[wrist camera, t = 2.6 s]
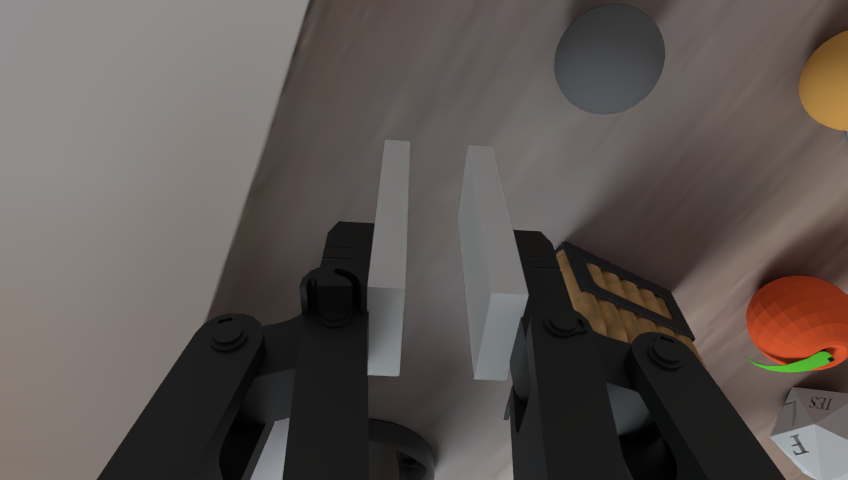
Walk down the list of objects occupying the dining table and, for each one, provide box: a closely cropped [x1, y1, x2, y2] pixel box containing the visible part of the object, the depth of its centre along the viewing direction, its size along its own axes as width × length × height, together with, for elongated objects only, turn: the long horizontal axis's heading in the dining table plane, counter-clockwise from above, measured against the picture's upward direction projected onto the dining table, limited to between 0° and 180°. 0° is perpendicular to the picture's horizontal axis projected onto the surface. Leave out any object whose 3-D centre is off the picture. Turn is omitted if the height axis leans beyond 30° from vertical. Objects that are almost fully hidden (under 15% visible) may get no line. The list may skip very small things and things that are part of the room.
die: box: [770, 387, 848, 480], centre depth 47 cm, size 8×9×10 cm
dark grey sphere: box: [554, 4, 665, 114], centre depth 28 cm, size 6×6×6 cm
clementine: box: [745, 276, 848, 372], centre depth 39 cm, size 8×7×7 cm
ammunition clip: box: [555, 242, 707, 370], centre depth 36 cm, size 11×2×12 cm, turn 61°
